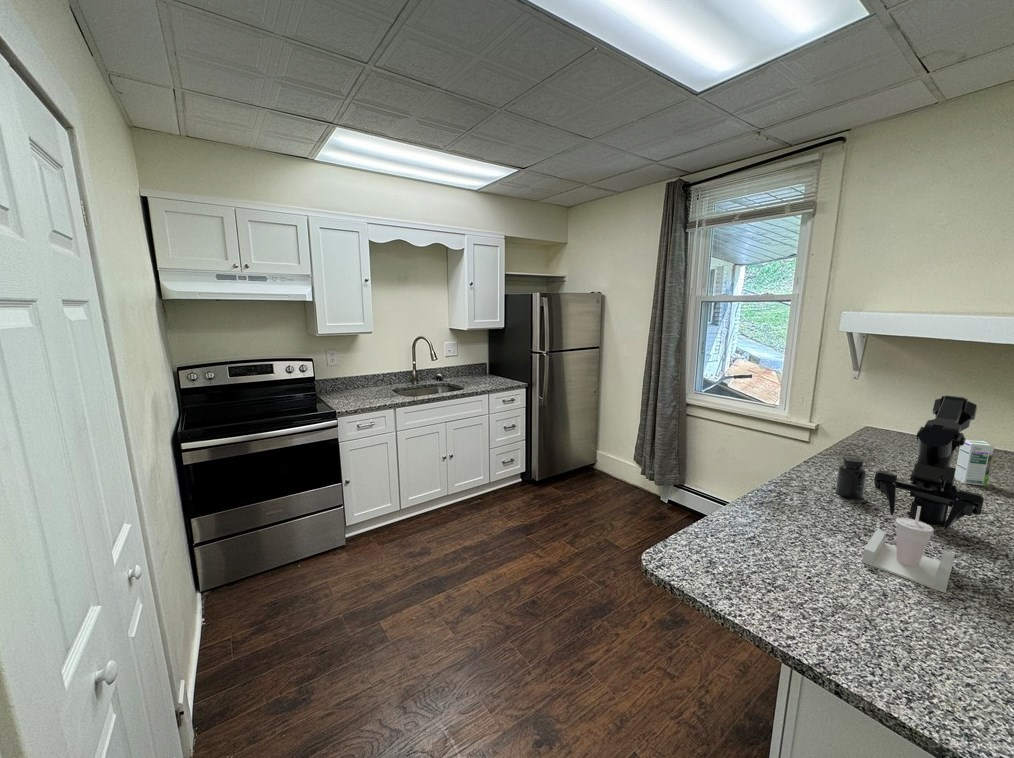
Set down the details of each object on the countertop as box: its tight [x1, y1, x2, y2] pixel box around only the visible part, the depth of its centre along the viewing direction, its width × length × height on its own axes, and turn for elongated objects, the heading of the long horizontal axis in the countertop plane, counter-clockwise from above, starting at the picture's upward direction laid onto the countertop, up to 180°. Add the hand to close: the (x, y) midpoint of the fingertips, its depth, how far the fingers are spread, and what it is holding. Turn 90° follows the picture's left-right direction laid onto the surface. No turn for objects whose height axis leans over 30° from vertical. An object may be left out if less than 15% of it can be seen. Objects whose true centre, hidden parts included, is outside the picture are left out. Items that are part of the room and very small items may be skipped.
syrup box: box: [954, 439, 995, 487], centre depth 141 cm, size 6×6×14 cm
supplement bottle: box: [835, 456, 867, 500], centre depth 131 cm, size 7×7×12 cm
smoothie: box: [894, 506, 935, 567], centre depth 94 cm, size 6×6×14 cm
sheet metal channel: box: [861, 528, 956, 594], centre depth 95 cm, size 14×14×4 cm
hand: (917, 521), depth 99 cm, fingers open, 9 cm apart
